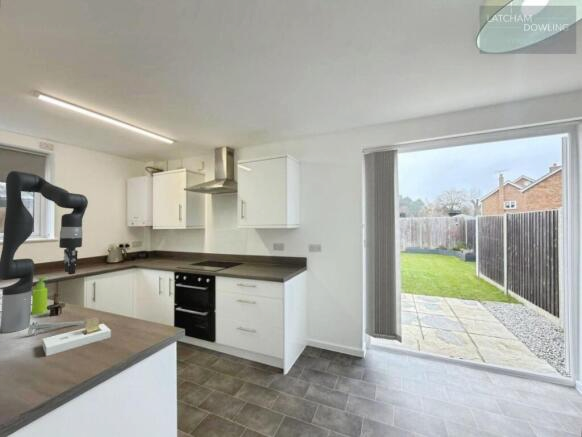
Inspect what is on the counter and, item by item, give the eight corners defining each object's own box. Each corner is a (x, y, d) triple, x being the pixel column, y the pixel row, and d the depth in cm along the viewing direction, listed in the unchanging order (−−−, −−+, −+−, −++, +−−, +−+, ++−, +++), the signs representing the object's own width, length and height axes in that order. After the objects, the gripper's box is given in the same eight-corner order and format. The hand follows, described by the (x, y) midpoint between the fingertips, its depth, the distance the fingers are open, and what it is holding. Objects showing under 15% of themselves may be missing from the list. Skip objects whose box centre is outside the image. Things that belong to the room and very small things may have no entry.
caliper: (28, 337, 105) (28, 323, 105) (27, 337, 105) (28, 322, 106) (87, 323, 121) (88, 310, 121) (87, 322, 122) (87, 310, 122)
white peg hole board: (42, 346, 97) (42, 338, 97) (103, 329, 112) (103, 323, 112) (46, 356, 89) (46, 347, 89) (110, 337, 105) (111, 330, 105)
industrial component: (64, 314, 132) (65, 293, 133) (46, 318, 127) (47, 295, 128) (64, 310, 139) (65, 289, 139) (46, 313, 134) (47, 292, 134)
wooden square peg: (84, 338, 104) (85, 319, 104) (95, 334, 107) (96, 316, 107) (86, 340, 102) (87, 321, 102) (98, 337, 105) (99, 318, 105)
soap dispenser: (40, 314, 132) (42, 278, 133) (28, 314, 132) (30, 278, 133) (51, 310, 138) (52, 276, 139) (39, 310, 138) (41, 276, 139)
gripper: (57, 236, 109) (55, 272, 108) (62, 237, 100) (61, 276, 99) (78, 236, 115) (77, 270, 114) (85, 237, 106) (84, 273, 105)
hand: (69, 272), depth 107 cm, fingers open, 8 cm apart
